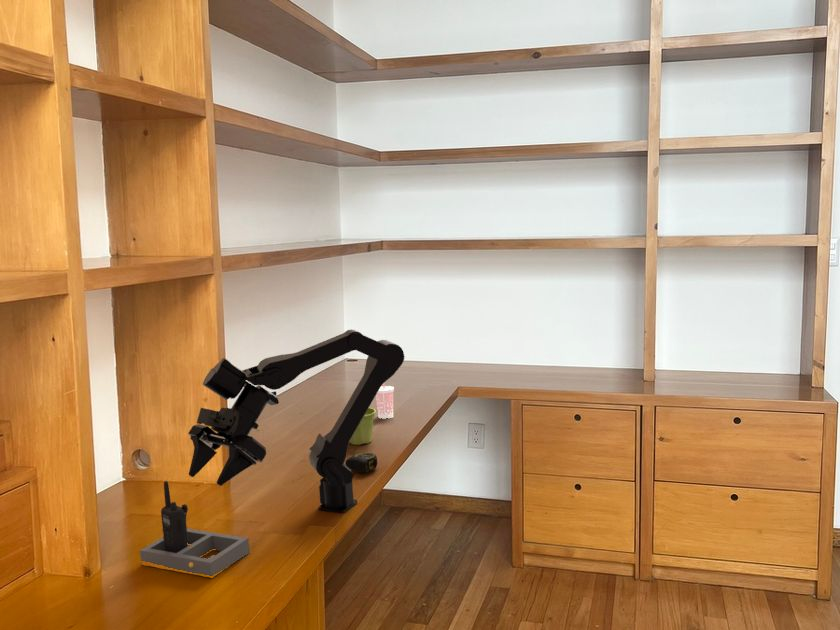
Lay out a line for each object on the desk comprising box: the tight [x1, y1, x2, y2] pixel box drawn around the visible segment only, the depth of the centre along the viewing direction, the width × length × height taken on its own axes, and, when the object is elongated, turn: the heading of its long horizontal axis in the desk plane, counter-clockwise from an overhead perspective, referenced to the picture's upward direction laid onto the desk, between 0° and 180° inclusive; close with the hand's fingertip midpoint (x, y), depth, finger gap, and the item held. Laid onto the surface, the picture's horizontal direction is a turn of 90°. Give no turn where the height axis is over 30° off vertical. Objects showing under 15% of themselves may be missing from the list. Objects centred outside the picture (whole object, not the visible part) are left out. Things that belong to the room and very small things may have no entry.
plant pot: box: [349, 407, 377, 446], centre depth 216 cm, size 9×9×9 cm
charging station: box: [139, 528, 250, 576], centre depth 147 cm, size 17×11×3 cm
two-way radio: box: [160, 480, 189, 553], centre depth 148 cm, size 6×4×15 cm
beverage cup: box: [375, 382, 395, 420], centre depth 240 cm, size 6×6×14 cm
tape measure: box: [344, 451, 378, 474], centre depth 193 cm, size 7×7×4 cm
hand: (204, 480), depth 153 cm, fingers open, 9 cm apart
